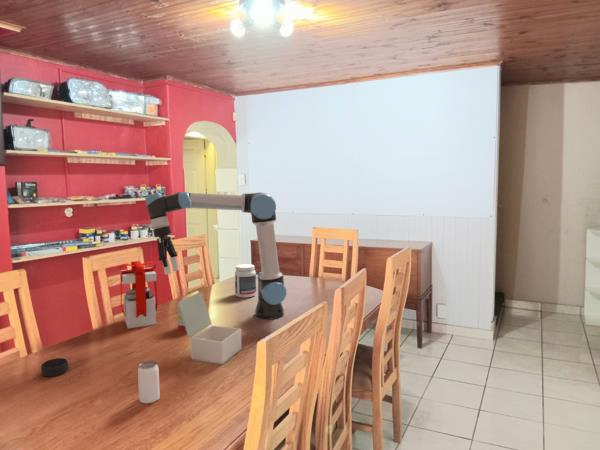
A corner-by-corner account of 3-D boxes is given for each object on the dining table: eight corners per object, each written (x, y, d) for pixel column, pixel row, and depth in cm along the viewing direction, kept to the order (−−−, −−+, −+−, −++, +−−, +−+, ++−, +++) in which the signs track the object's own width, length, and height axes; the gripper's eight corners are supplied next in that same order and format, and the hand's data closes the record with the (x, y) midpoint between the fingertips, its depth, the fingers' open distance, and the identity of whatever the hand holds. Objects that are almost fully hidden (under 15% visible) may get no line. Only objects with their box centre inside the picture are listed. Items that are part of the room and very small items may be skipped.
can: (142, 394, 151) (140, 360, 149) (161, 394, 151) (160, 359, 150) (136, 404, 144) (135, 369, 143) (157, 403, 145) (155, 368, 144)
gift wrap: (124, 330, 213) (120, 268, 209) (120, 320, 228) (117, 262, 224) (160, 324, 220) (158, 264, 217) (154, 315, 236) (152, 259, 232)
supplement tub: (260, 294, 275) (260, 265, 273) (247, 299, 264) (246, 268, 262) (244, 291, 282) (243, 262, 280) (230, 296, 271) (230, 266, 269)
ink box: (194, 331, 211) (193, 307, 209) (177, 330, 213) (176, 306, 211) (201, 325, 219) (201, 302, 218) (185, 324, 221) (184, 301, 220)
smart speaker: (49, 379, 162) (49, 369, 162) (36, 374, 167) (36, 363, 167) (73, 370, 170) (72, 360, 169) (60, 365, 174) (59, 355, 174)
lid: (189, 337, 178) (188, 337, 178) (211, 324, 193) (210, 324, 193) (178, 302, 177) (177, 302, 178) (201, 291, 193) (200, 291, 193)
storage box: (191, 359, 179) (191, 338, 178) (212, 345, 194) (211, 325, 193) (222, 364, 174) (222, 342, 173) (241, 349, 189) (241, 328, 188)
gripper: (161, 228, 217) (171, 271, 218) (144, 229, 192) (156, 277, 193) (176, 225, 217) (186, 267, 218) (161, 225, 193) (173, 273, 193)
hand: (172, 272), depth 205 cm, fingers open, 13 cm apart
